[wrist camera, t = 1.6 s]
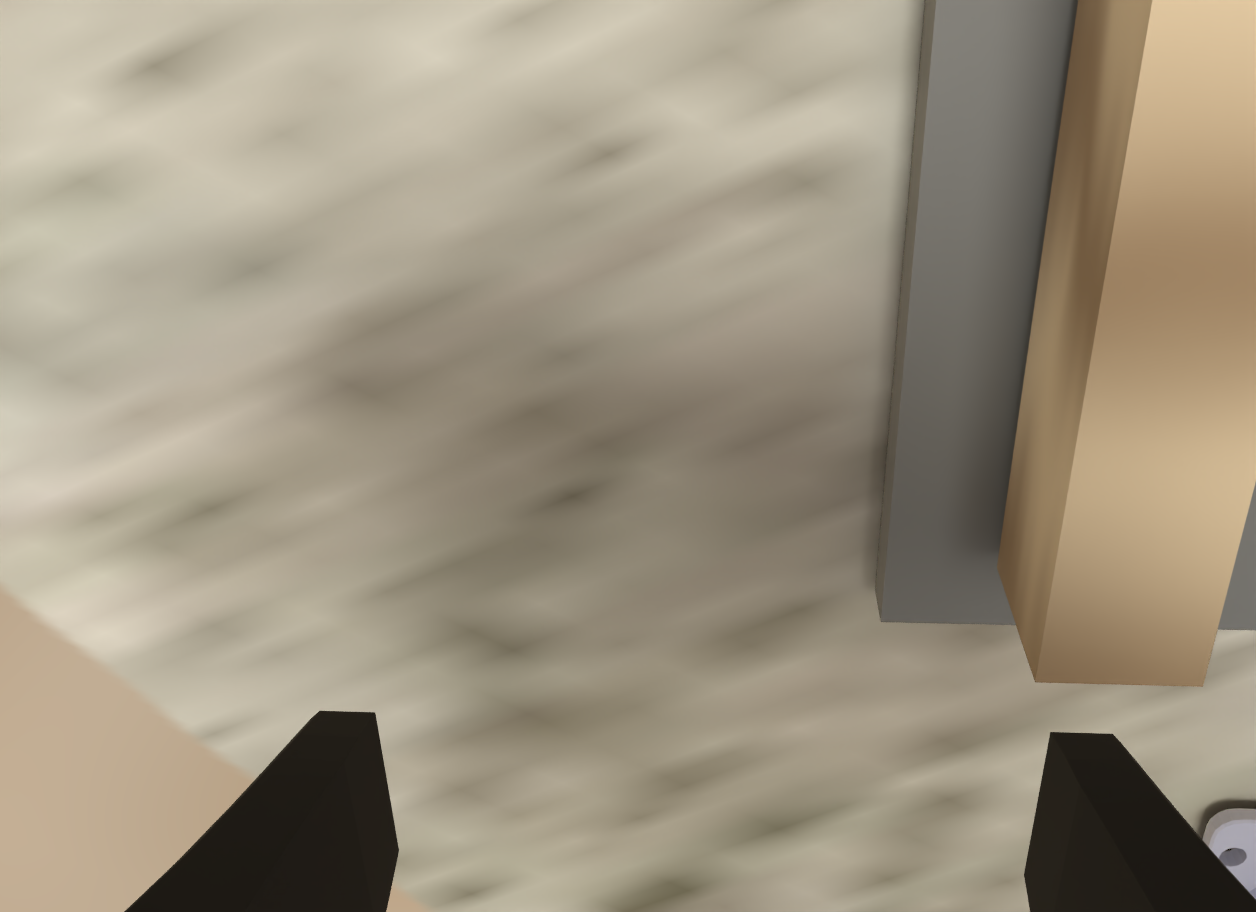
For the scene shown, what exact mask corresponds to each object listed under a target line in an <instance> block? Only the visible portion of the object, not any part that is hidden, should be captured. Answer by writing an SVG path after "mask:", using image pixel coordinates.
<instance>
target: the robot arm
mask: <svg viewBox="0 0 1256 912" xmlns="http://www.w3.org/2000/svg"><path fill="white" fill-rule="evenodd" d="M1230 848H1234V849H1232V850H1230V851H1225V850H1227V849H1230ZM398 852H399V848H398V843H397V837H396V831H395V825H394V819H393V814H392V808H391V802H390V796H389V790H388V784H387V779H386V773H385V767H384V761H383V755H382V750H381V744H380V738H379V732H378V726H377V721H376V715H375V713H374V712H339V711H319V712H318V713H317V714H316V715H315V716H313V717H312V718H311V719H310V720H309V721H308V723H307V724H306V725H305V726H304V727H303V728H302V729H301V730H300V731H299V732H298V733H297V734H296V736H295V737H294V738H293V739H292V740H291V741H290V742H289V743H288V744H287V745H286V747H285V748H284V749H283V750H282V751H281V752H280V753H279V754H278V755H277V756H276V758H275V759H274V760H273V761H272V762H271V763H270V764H269V765H268V766H267V767H266V769H265V770H264V771H263V772H262V773H261V774H260V775H259V776H258V777H257V778H256V779H255V781H254V782H253V783H252V784H251V785H250V786H249V787H248V788H247V789H246V791H244V792H243V794H242V795H241V796H240V797H239V798H238V799H237V800H236V801H235V802H234V803H233V804H232V806H231V807H230V808H229V809H228V810H227V811H226V812H225V813H224V814H223V815H222V816H221V817H220V818H219V819H218V820H217V821H216V822H215V823H214V824H213V825H212V826H211V827H210V828H209V829H208V830H207V831H206V833H205V834H204V835H203V836H202V837H200V839H199V840H198V841H197V842H196V843H195V844H194V845H193V846H192V847H191V848H190V849H189V850H188V851H187V852H186V853H185V854H184V855H183V856H182V857H181V858H180V859H179V860H178V861H177V862H176V863H175V864H174V865H173V866H172V867H171V868H170V869H169V870H168V871H167V872H166V873H165V874H164V875H163V876H162V877H161V878H160V879H158V880H157V881H156V882H155V883H154V884H153V885H152V886H151V887H150V888H149V889H148V890H147V891H146V892H145V893H144V894H143V895H142V896H141V897H139V898H138V899H137V900H136V901H135V902H134V903H133V904H132V905H131V906H130V907H129V908H128V909H127V910H126V911H125V912H386V910H387V905H388V901H389V896H390V891H391V886H392V881H393V877H394V872H395V867H396V862H397V857H398ZM1024 877H1025V883H1026V889H1027V895H1028V901H1029V907H1030V912H1256V809H1243V808H1234V809H1226V810H1223V811H1221V812H1218V813H1217V814H1216V815H1214V816H1213V817H1212V818H1211V819H1210V820H1209V822H1208V824H1207V825H1206V829H1205V833H1204V836H1203V840H1202V839H1201V838H1200V837H1199V835H1198V834H1197V833H1196V832H1195V831H1194V830H1193V828H1192V827H1191V826H1190V825H1189V824H1188V823H1187V821H1186V820H1185V819H1184V818H1183V817H1182V815H1181V814H1180V813H1179V812H1178V811H1177V810H1176V808H1175V807H1174V806H1173V805H1172V804H1171V802H1170V801H1169V800H1168V799H1167V798H1166V796H1165V795H1164V794H1163V793H1162V792H1161V791H1160V789H1159V788H1158V787H1157V786H1156V784H1155V783H1154V782H1153V781H1152V780H1151V778H1150V777H1149V776H1148V775H1147V774H1146V772H1145V771H1144V770H1143V769H1142V768H1141V766H1140V765H1139V764H1138V763H1137V762H1136V760H1135V759H1134V758H1133V757H1132V755H1131V754H1130V753H1129V752H1128V751H1127V749H1126V748H1125V747H1124V746H1123V745H1122V744H1121V742H1120V741H1119V740H1118V739H1117V738H1116V737H1115V736H1114V735H1113V734H1094V733H1060V732H1050V738H1049V743H1048V749H1047V754H1046V759H1045V765H1044V770H1043V776H1042V781H1041V786H1040V792H1039V797H1038V803H1037V808H1036V813H1035V819H1034V824H1033V829H1032V835H1031V840H1030V846H1029V851H1028V856H1027V862H1026V867H1025V873H1024Z"/></svg>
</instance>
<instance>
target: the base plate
mask: <svg viewBox="0 0 1256 912" xmlns="http://www.w3.org/2000/svg"><path fill="white" fill-rule="evenodd" d="M1077 5H1078V0H925V9H924V21H923V32H922V44H921V56H920V68H919V79H918V91H917V103H916V115H915V126H914V138H913V150H912V162H911V173H910V185H909V197H908V209H907V221H906V232H905V244H904V256H903V268H902V279H901V291H900V303H899V315H898V326H897V338H896V350H895V362H894V373H893V385H892V397H891V409H890V421H889V432H888V444H887V456H886V468H885V479H884V491H883V503H882V515H881V526H880V538H879V550H878V562H877V573H876V585H875V592H876V597H877V603H878V609H879V615H880V620H881V622H905V623H951V624H996V625H1016V623H1015V620H1014V617H1013V614H1012V611H1011V608H1010V605H1009V602H1008V599H1007V596H1006V593H1005V590H1004V587H1003V584H1002V581H1001V579H1000V576H999V573H998V570H997V563H998V556H999V549H1000V542H1001V535H1002V528H1003V521H1004V514H1005V507H1006V500H1007V493H1008V486H1009V479H1010V472H1011V465H1012V458H1013V451H1014V444H1015V437H1016V430H1017V424H1018V417H1019V410H1020V403H1021V396H1022V389H1023V382H1024V375H1025V368H1026V361H1027V354H1028V347H1029V340H1030V333H1031V326H1032V319H1033V312H1034V305H1035V298H1036V291H1037V284H1038V277H1039V270H1040V263H1041V256H1042V249H1043V242H1044V235H1045V228H1046V221H1047V214H1048V208H1049V201H1050V194H1051V187H1052V180H1053V173H1054V166H1055V159H1056V152H1057V145H1058V138H1059V131H1060V124H1061V117H1062V110H1063V103H1064V96H1065V89H1066V82H1067V75H1068V68H1069V61H1070V54H1071V47H1072V40H1073V33H1074V26H1075V19H1076V12H1077ZM1218 629H1222V630H1256V483H1255V487H1254V490H1253V494H1252V498H1251V502H1250V506H1249V510H1248V514H1247V517H1246V521H1245V525H1244V529H1243V533H1242V537H1241V541H1240V544H1239V548H1238V552H1237V556H1236V560H1235V564H1234V568H1233V571H1232V575H1231V579H1230V583H1229V587H1228V591H1227V595H1226V598H1225V602H1224V606H1223V610H1222V614H1221V618H1220V622H1219V625H1218Z"/></svg>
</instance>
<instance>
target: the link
mask: <svg viewBox="0 0 1256 912" xmlns="http://www.w3.org/2000/svg"><path fill="white" fill-rule="evenodd" d="M1255 483H1256V0H1078V5H1077V12H1076V19H1075V26H1074V33H1073V40H1072V47H1071V54H1070V61H1069V68H1068V75H1067V82H1066V89H1065V96H1064V103H1063V110H1062V117H1061V124H1060V131H1059V138H1058V145H1057V152H1056V159H1055V166H1054V173H1053V180H1052V187H1051V194H1050V201H1049V208H1048V214H1047V221H1046V228H1045V235H1044V242H1043V249H1042V256H1041V263H1040V270H1039V277H1038V284H1037V291H1036V298H1035V305H1034V312H1033V319H1032V326H1031V333H1030V340H1029V347H1028V354H1027V361H1026V368H1025V375H1024V382H1023V389H1022V396H1021V403H1020V410H1019V417H1018V424H1017V430H1016V437H1015V444H1014V451H1013V458H1012V465H1011V472H1010V479H1009V486H1008V493H1007V500H1006V507H1005V514H1004V521H1003V528H1002V535H1001V542H1000V549H999V556H998V563H997V570H998V573H999V576H1000V579H1001V581H1002V584H1003V587H1004V590H1005V593H1006V596H1007V599H1008V602H1009V605H1010V608H1011V611H1012V614H1013V617H1014V620H1015V623H1016V626H1017V629H1018V632H1019V635H1020V638H1021V641H1022V644H1023V647H1024V650H1025V653H1026V656H1027V659H1028V662H1029V665H1030V668H1031V671H1032V674H1033V677H1034V680H1035V682H1046V683H1084V684H1123V685H1162V686H1200V687H1203V683H1204V680H1205V676H1206V672H1207V668H1208V664H1209V660H1210V656H1211V652H1212V649H1213V645H1214V641H1215V637H1216V633H1217V629H1218V625H1219V622H1220V618H1221V614H1222V610H1223V606H1224V602H1225V598H1226V595H1227V591H1228V587H1229V583H1230V579H1231V575H1232V571H1233V568H1234V564H1235V560H1236V556H1237V552H1238V548H1239V544H1240V541H1241V537H1242V533H1243V529H1244V525H1245V521H1246V517H1247V514H1248V510H1249V506H1250V502H1251V498H1252V494H1253V490H1254V487H1255Z"/></svg>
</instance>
